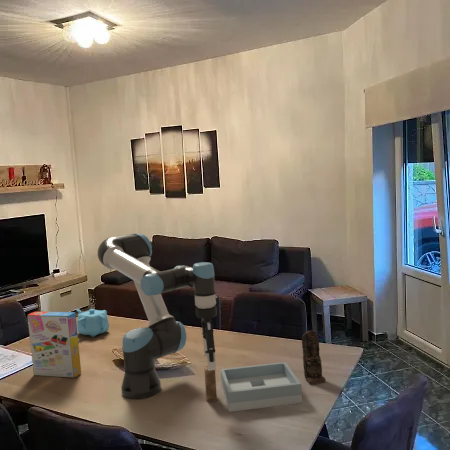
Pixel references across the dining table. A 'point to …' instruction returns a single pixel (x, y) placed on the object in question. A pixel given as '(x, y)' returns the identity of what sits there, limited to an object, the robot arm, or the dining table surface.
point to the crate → (260, 386)
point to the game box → (54, 344)
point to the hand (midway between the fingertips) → (209, 362)
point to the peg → (210, 384)
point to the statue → (312, 358)
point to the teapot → (92, 322)
